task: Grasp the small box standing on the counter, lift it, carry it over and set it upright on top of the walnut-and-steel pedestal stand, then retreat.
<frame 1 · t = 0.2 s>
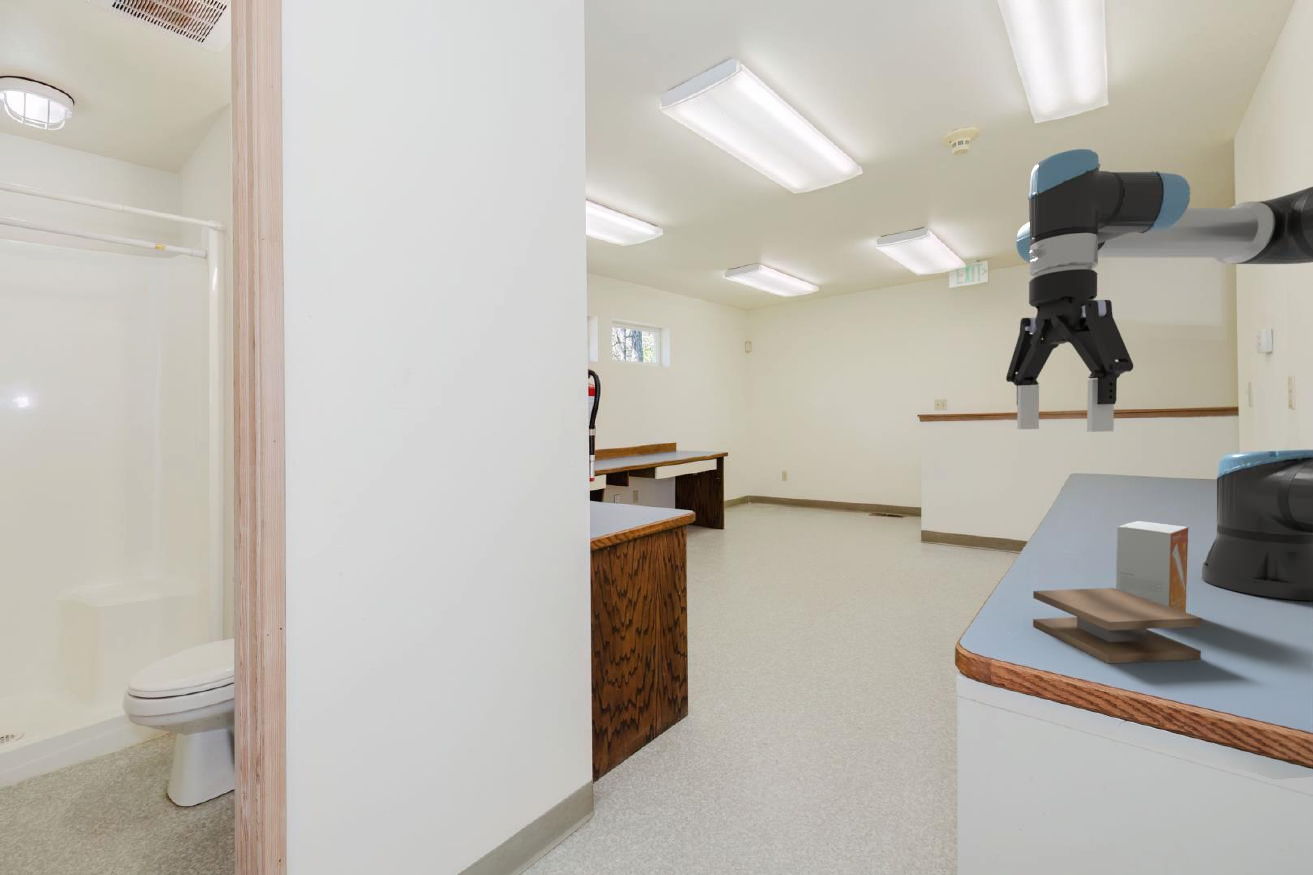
hand: (1060, 430, 77), 28 cm above the table, fingers open, 13 cm apart
small box: (1150, 614, 84), on the table
stand: (1110, 641, 73), on the table
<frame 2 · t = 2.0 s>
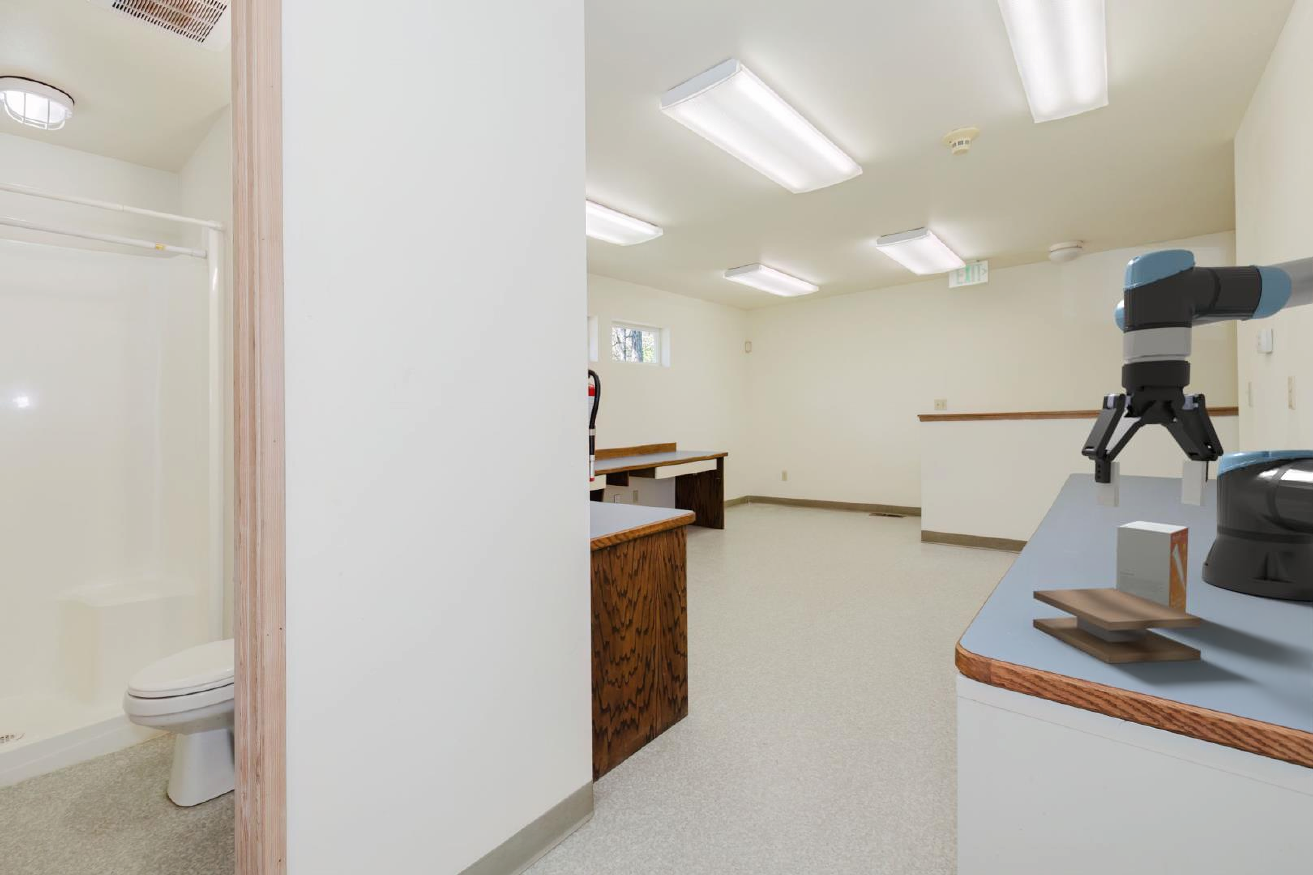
hand: (1150, 505, 83), 16 cm above the table, fingers open, 13 cm apart
nothing on the table moved.
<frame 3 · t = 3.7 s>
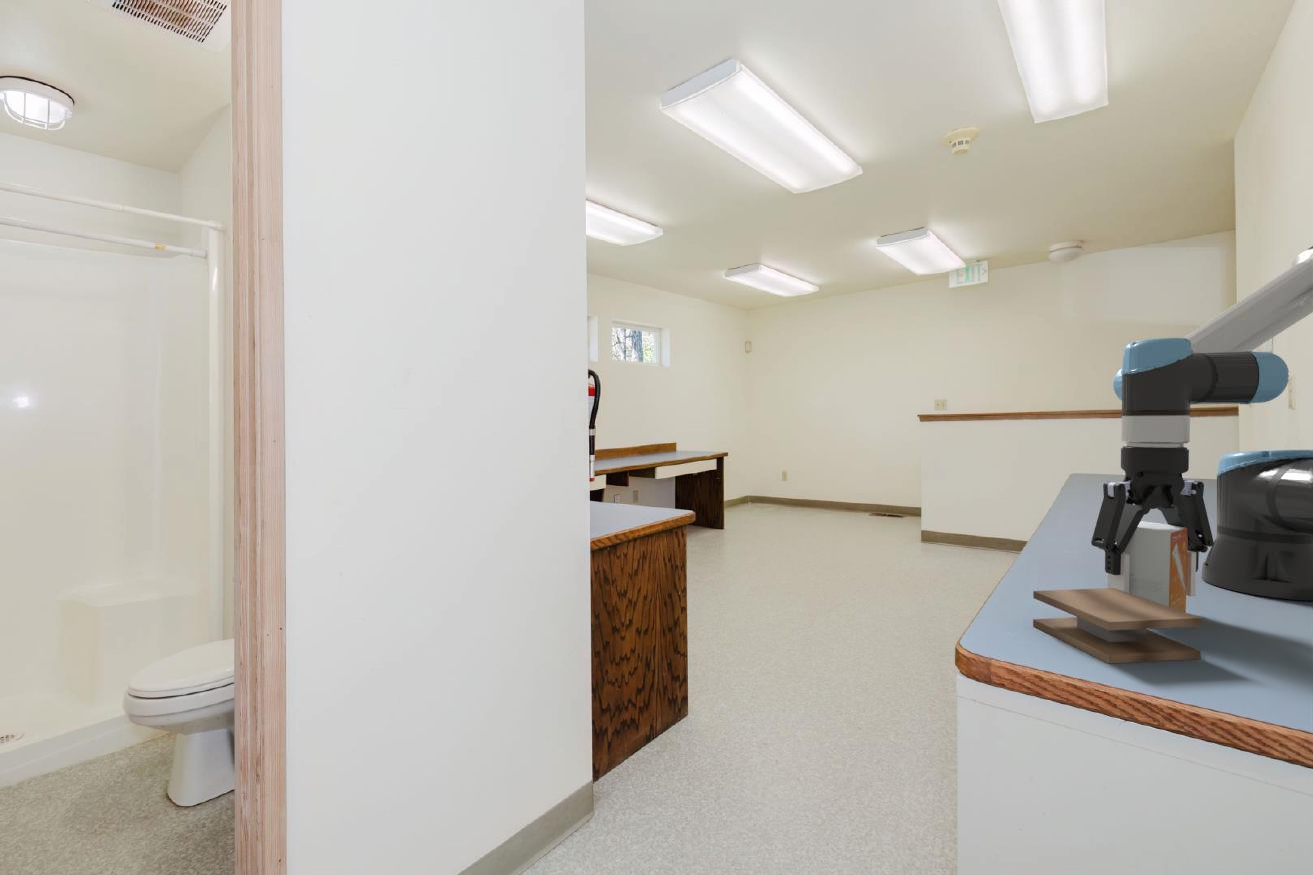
hand: (1151, 594, 83), 3 cm above the table, fingers closed on small box, 10 cm apart
small box: (1150, 614, 84), on the table, touching gripper
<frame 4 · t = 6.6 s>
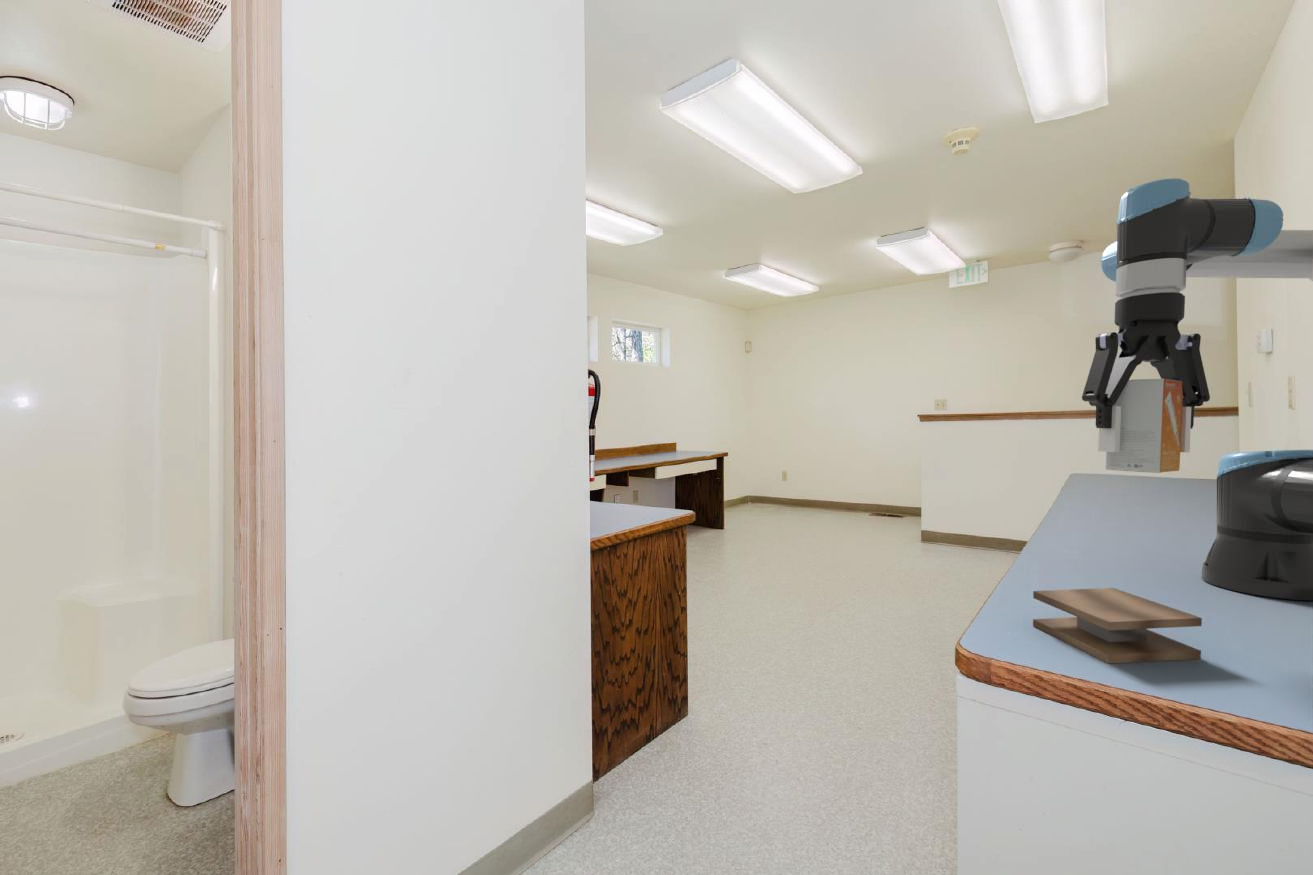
hand: (1143, 451, 81), 24 cm above the table, fingers closed on small box, 10 cm apart
small box: (1142, 472, 81), point 21 cm above the table, touching gripper
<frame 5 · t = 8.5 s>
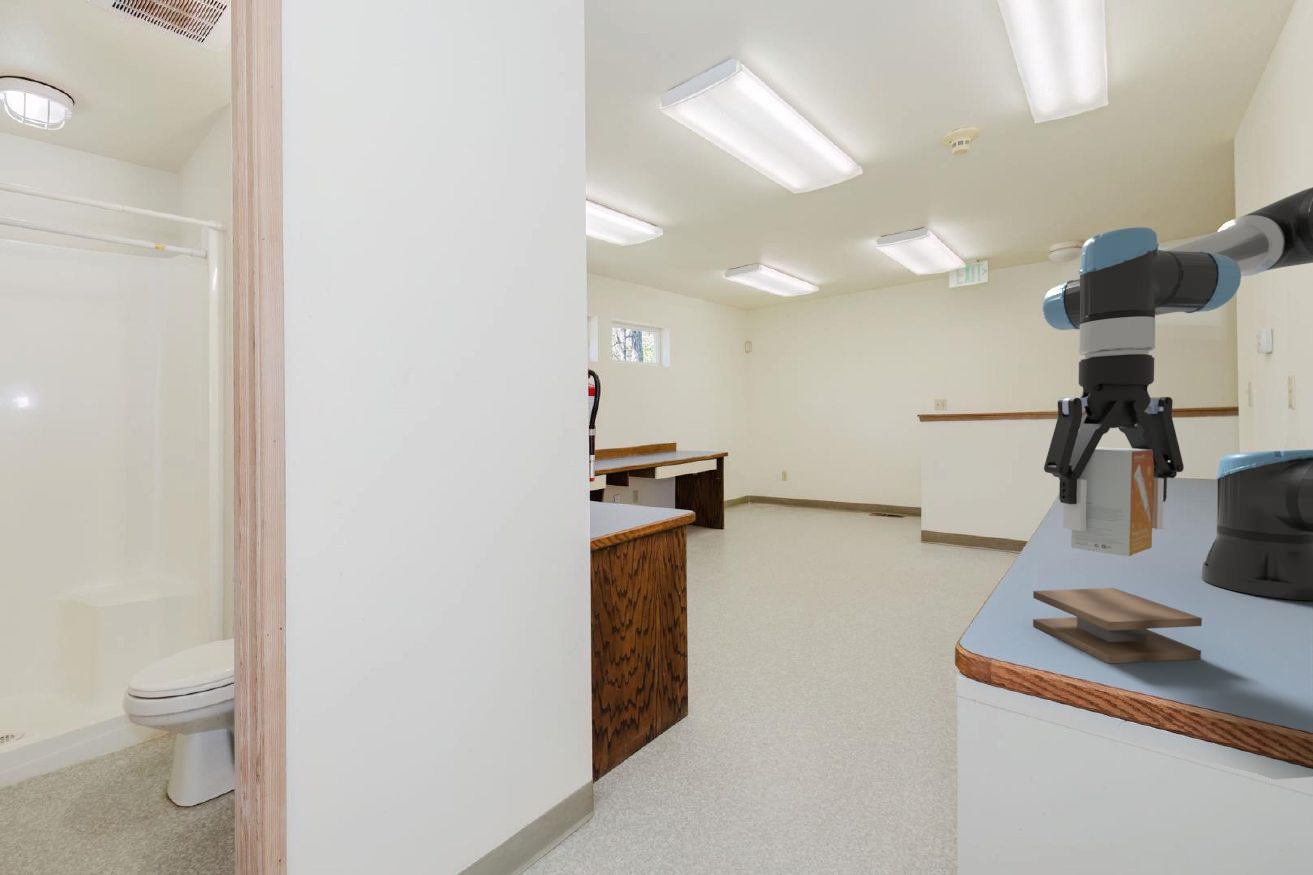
hand: (1112, 528, 73), 15 cm above the table, fingers closed on small box, 10 cm apart
small box: (1111, 550, 73), point 12 cm above the table, touching gripper
when the fingers open (9 cm above the table, at t = 9.9 s): small box drops 1 cm, resting on stand.
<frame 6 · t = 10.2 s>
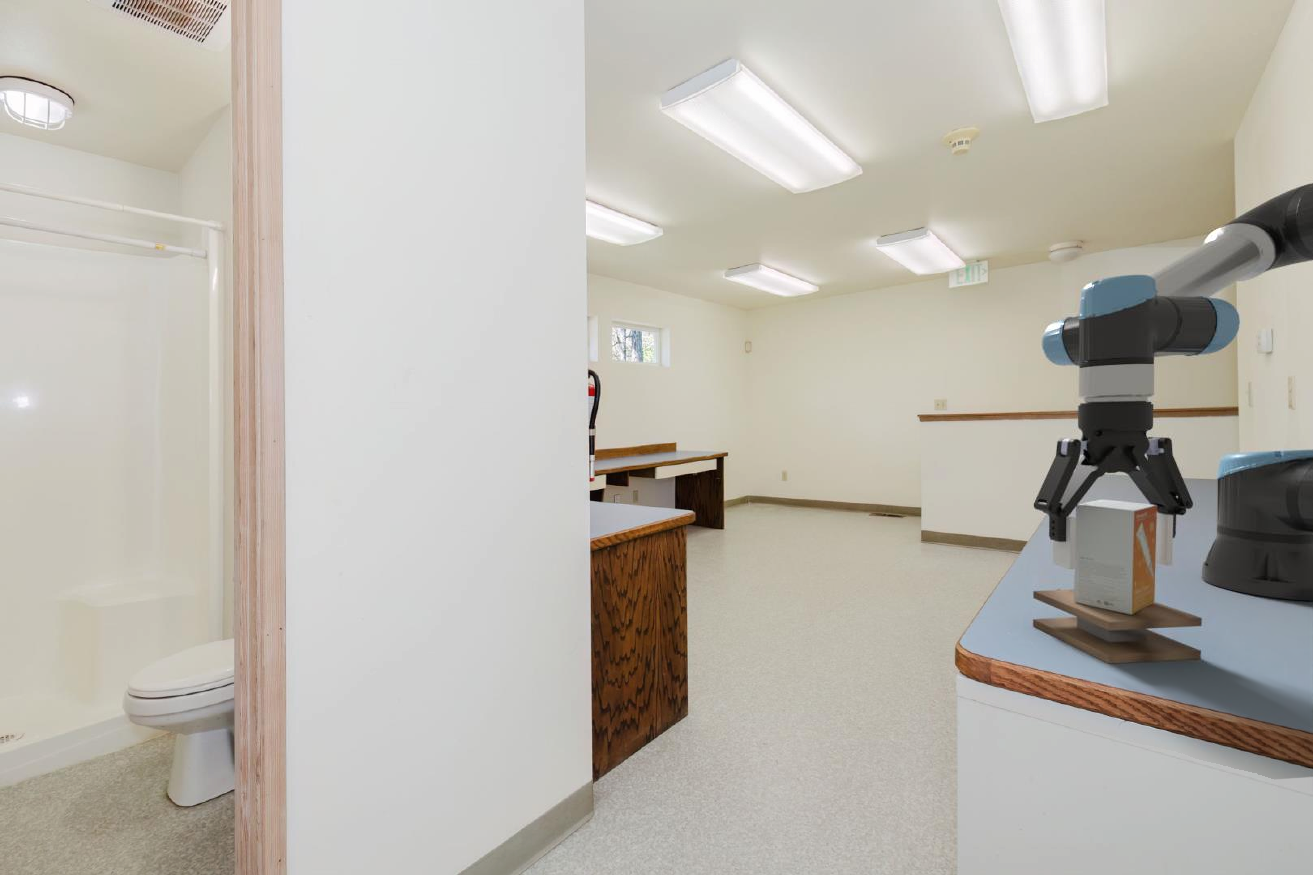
hand: (1111, 564, 73), 10 cm above the table, fingers open, 13 cm apart
small box: (1114, 604, 73), point 5 cm above the table, touching stand
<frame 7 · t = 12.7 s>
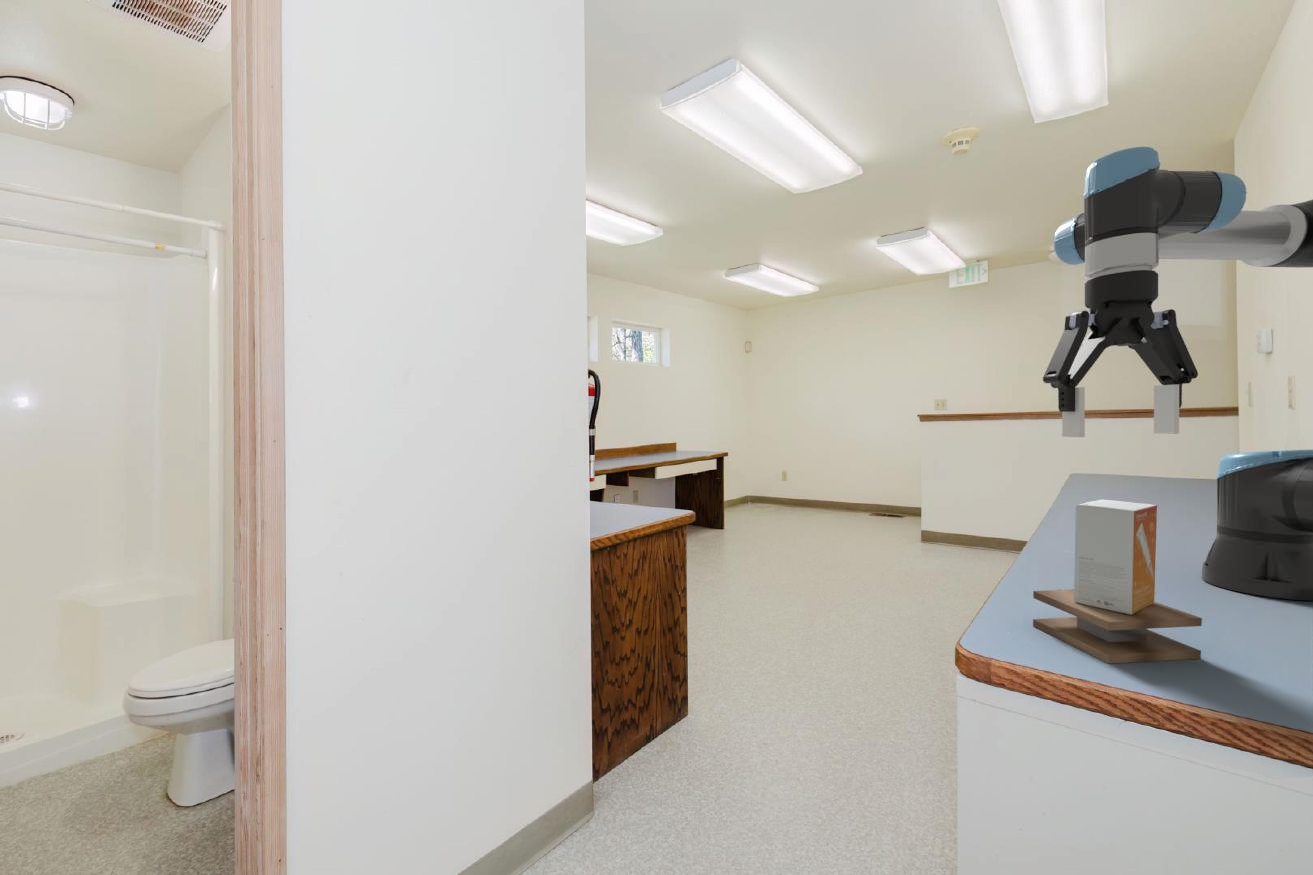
hand: (1120, 435, 75), 27 cm above the table, fingers open, 13 cm apart
nothing on the table moved.
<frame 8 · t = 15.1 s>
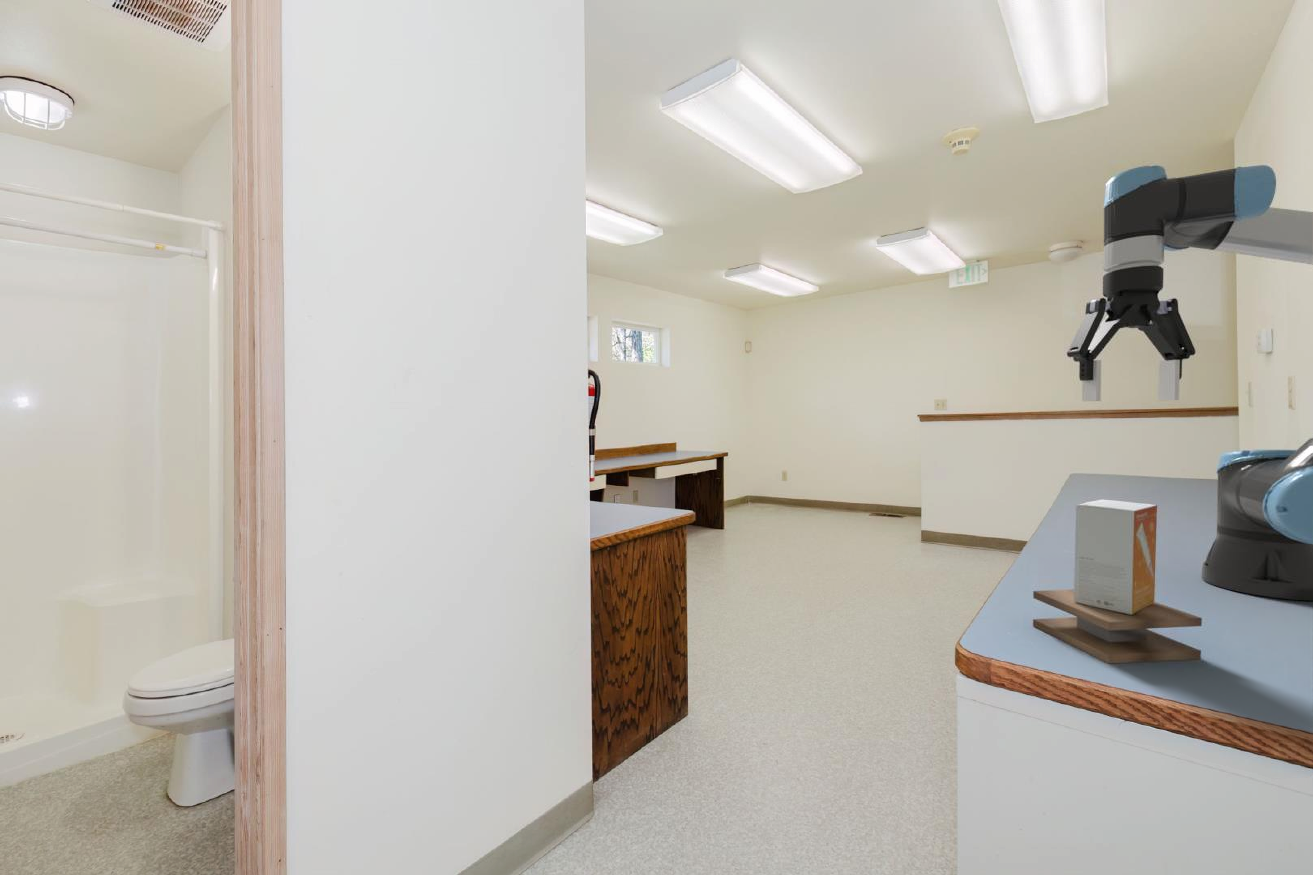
hand: (1130, 401, 92), 32 cm above the table, fingers open, 13 cm apart
nothing on the table moved.
at the end: small box inside the target area on the stand (0.4 cm from its centre), point 4.8 cm above the stand's base; small box tilted 0°; the gripper is holding nothing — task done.
